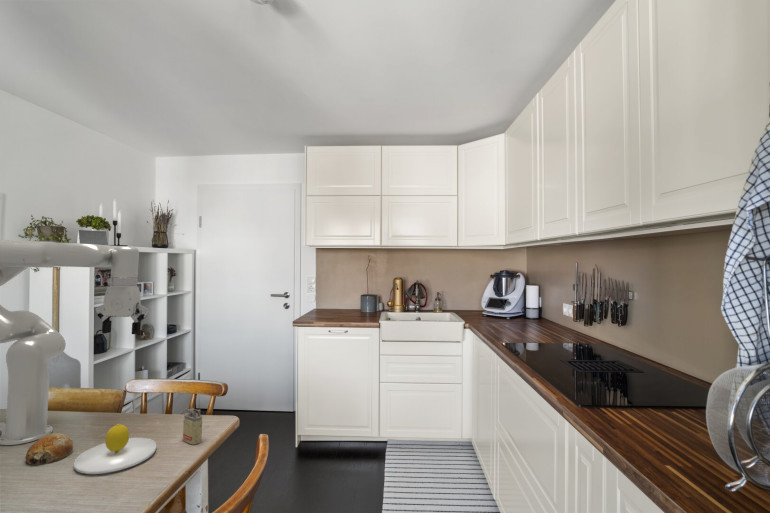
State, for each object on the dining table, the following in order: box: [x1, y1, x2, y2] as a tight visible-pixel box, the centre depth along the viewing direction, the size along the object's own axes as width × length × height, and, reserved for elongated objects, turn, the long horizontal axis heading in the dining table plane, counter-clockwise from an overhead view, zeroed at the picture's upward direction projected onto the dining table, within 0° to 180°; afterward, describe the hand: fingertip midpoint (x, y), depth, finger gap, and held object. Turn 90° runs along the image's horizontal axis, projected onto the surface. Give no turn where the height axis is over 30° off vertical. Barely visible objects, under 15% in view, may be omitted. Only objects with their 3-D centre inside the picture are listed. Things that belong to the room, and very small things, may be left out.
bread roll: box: [24, 432, 74, 466], centre depth 106 cm, size 10×10×8 cm
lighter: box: [182, 407, 203, 445], centre depth 117 cm, size 7×4×10 cm, turn 59°
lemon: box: [104, 423, 130, 453], centre depth 106 cm, size 6×6×8 cm
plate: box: [73, 437, 157, 475], centre depth 106 cm, size 19×19×2 cm
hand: (121, 333), depth 125 cm, fingers open, 9 cm apart
